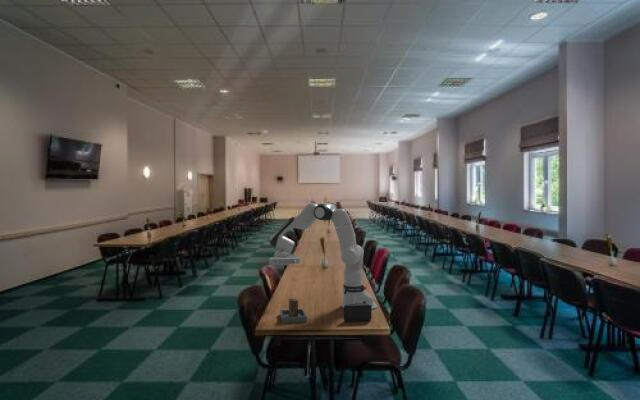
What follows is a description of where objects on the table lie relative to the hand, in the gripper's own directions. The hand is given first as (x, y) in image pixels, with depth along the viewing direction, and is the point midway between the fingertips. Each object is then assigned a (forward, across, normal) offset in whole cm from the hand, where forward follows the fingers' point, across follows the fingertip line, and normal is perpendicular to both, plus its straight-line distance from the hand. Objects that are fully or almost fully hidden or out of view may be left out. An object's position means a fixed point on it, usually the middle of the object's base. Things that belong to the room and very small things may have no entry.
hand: (286, 262), depth 231 cm
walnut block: (+22, 0, +27) cm, 35 cm away
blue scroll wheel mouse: (+36, +34, +28) cm, 57 cm away
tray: (+22, 0, +28) cm, 36 cm away
